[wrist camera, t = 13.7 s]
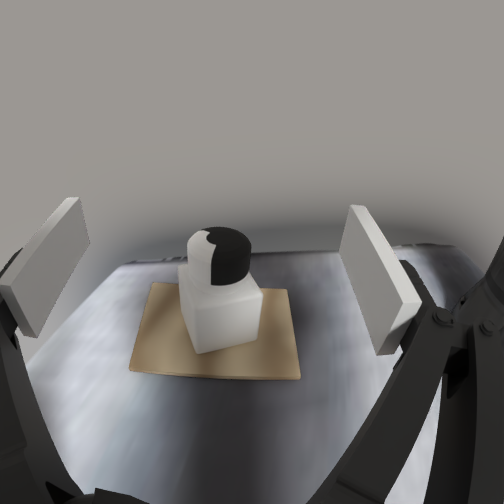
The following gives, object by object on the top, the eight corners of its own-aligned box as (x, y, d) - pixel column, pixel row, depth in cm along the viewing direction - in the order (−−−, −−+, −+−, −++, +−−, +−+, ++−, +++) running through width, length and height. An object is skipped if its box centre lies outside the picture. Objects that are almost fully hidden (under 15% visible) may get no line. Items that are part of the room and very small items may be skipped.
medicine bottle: (235, 299, 41) (241, 215, 34) (257, 341, 35) (270, 253, 29) (180, 311, 38) (174, 224, 31) (196, 356, 33) (191, 266, 26)
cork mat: (286, 292, 44) (286, 289, 43) (299, 379, 32) (300, 376, 32) (153, 285, 42) (152, 282, 42) (129, 370, 31) (128, 367, 31)
